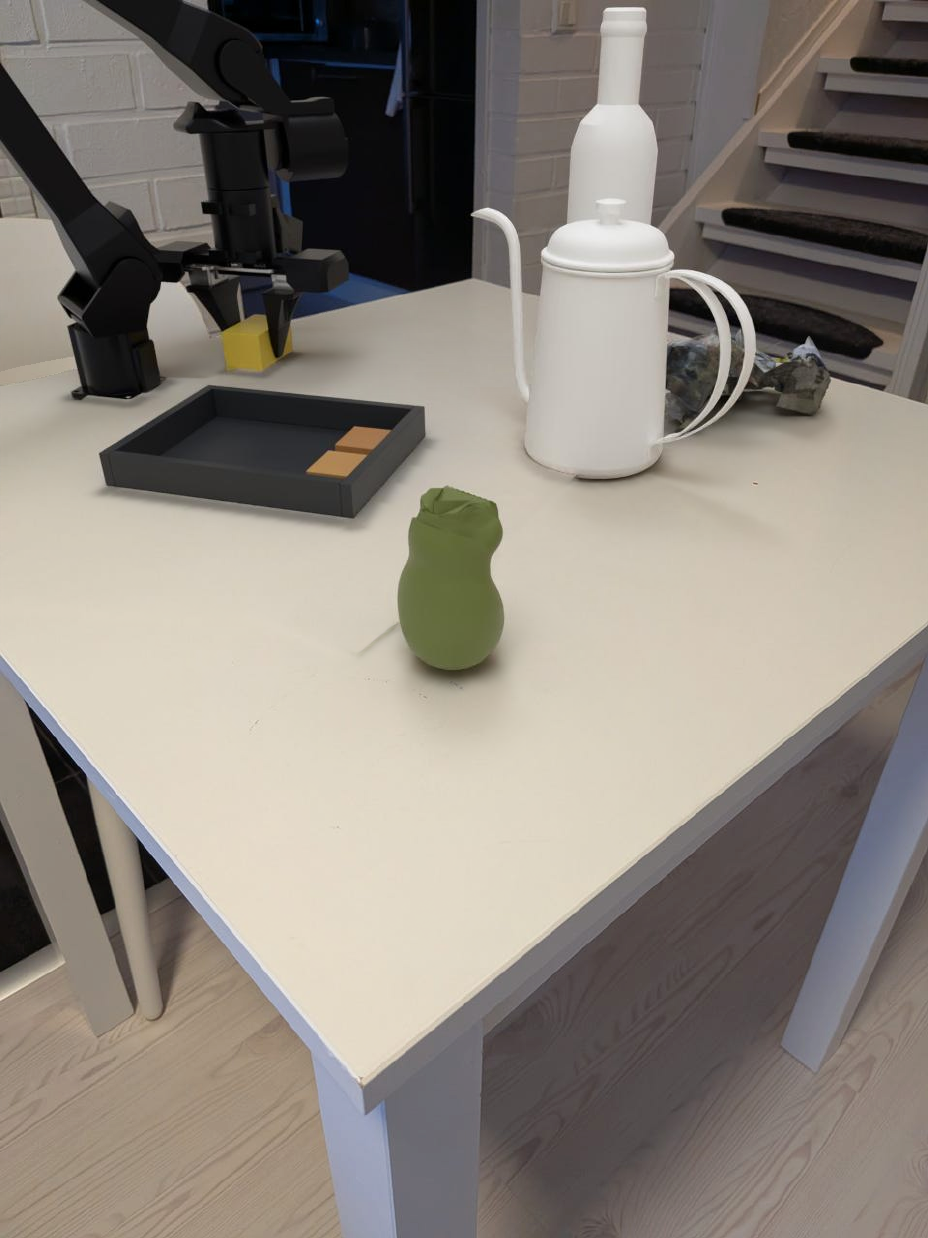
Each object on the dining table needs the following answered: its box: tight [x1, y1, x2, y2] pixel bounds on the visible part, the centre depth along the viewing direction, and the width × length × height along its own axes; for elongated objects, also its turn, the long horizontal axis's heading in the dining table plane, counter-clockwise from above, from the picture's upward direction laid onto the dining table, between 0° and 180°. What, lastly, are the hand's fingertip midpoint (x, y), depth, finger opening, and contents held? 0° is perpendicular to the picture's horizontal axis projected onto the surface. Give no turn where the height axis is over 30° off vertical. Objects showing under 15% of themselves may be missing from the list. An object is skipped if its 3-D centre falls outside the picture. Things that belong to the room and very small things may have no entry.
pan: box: [98, 384, 426, 519], centre depth 71 cm, size 20×16×3 cm
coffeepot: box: [470, 198, 757, 480], centre depth 68 cm, size 11×25×19 cm, turn 47°
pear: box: [396, 485, 505, 671], centre depth 47 cm, size 6×5×10 cm
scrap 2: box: [335, 426, 391, 455], centre depth 71 cm, size 4×4×2 cm
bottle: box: [566, 6, 659, 226], centre depth 84 cm, size 8×8×30 cm
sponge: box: [220, 313, 294, 372], centre depth 92 cm, size 4×7×4 cm, turn 164°
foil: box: [664, 326, 832, 433], centre depth 79 cm, size 12×11×15 cm
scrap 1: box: [306, 451, 367, 479], centre depth 67 cm, size 4×4×2 cm
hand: (259, 355), depth 92 cm, fingers closed on sponge, 4 cm apart
